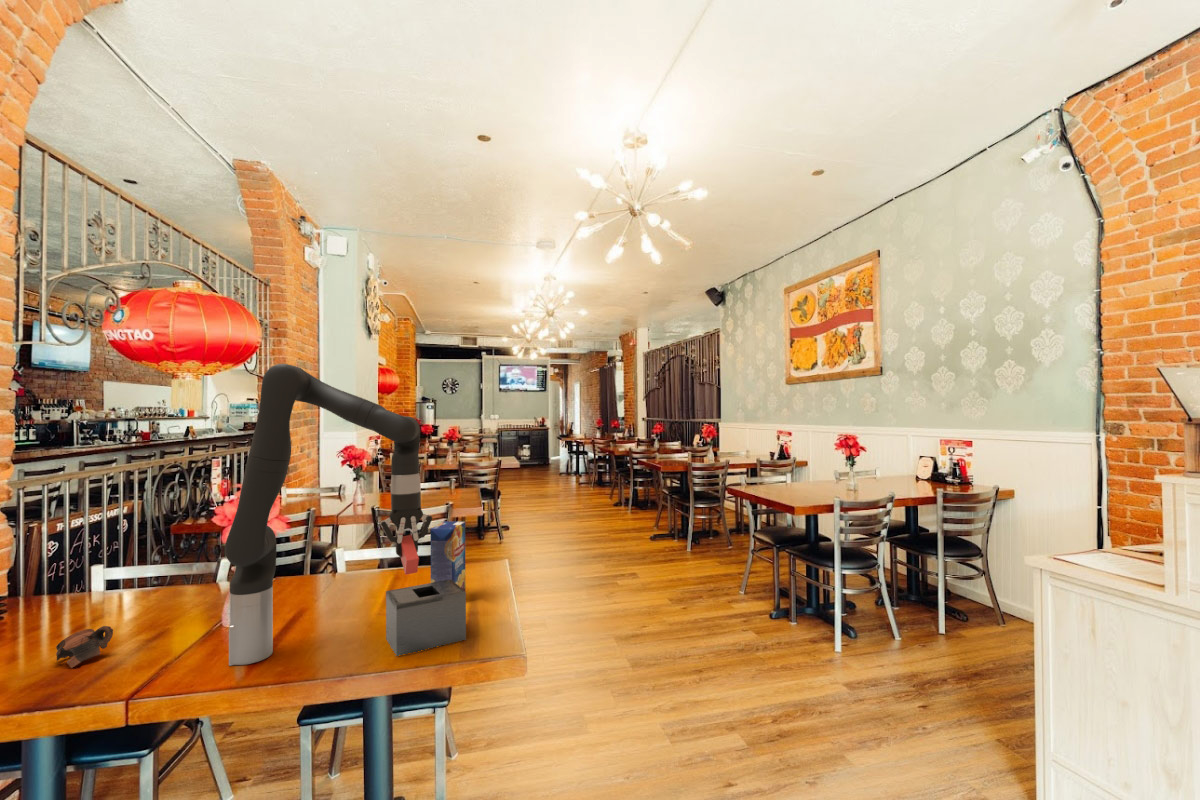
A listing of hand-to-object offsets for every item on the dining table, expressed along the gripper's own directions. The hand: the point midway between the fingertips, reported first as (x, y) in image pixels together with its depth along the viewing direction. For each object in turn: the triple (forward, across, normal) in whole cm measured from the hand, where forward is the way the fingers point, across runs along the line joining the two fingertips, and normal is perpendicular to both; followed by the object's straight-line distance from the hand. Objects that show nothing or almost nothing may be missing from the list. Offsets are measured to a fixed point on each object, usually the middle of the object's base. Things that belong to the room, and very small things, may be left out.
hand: (407, 555), depth 143 cm
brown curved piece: (+22, -68, +33) cm, 79 cm away
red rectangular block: (+2, 0, -6) cm, 6 cm away
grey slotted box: (+24, +4, 0) cm, 24 cm away
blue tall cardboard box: (+24, +19, +30) cm, 43 cm away
